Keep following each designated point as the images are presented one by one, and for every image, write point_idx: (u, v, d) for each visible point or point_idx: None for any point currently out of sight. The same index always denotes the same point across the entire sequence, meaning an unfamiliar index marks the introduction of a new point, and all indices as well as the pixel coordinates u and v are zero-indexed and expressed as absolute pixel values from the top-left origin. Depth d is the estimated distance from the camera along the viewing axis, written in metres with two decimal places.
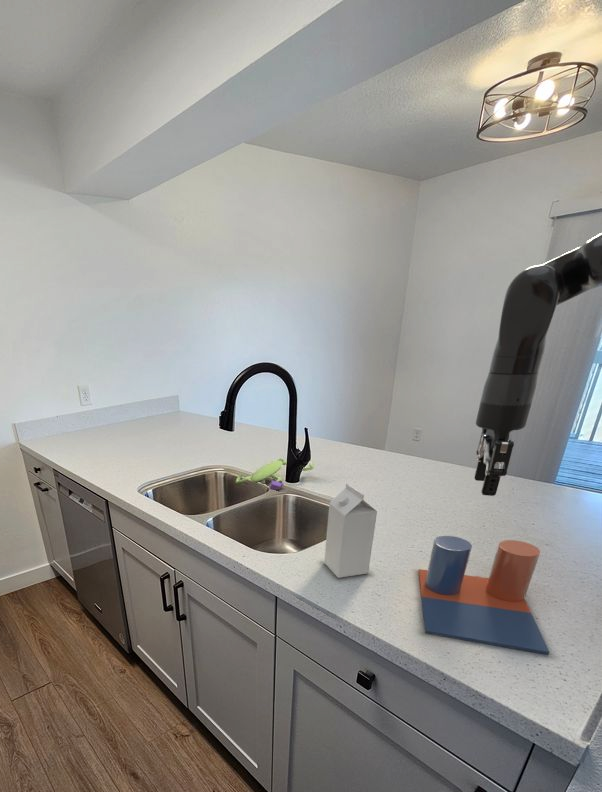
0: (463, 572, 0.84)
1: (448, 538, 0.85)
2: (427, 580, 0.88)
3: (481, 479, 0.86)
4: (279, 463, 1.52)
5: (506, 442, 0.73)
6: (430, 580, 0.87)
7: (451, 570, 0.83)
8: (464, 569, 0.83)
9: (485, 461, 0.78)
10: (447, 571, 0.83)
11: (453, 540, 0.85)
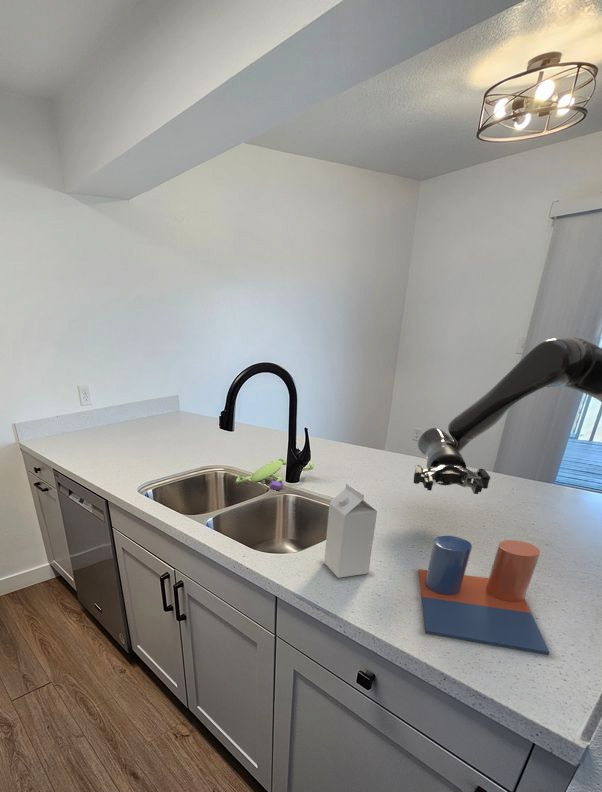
0: (463, 572, 0.84)
1: (448, 538, 0.85)
2: (427, 580, 0.88)
3: (475, 488, 0.88)
4: (279, 463, 1.52)
5: None
6: (430, 580, 0.87)
7: (451, 570, 0.83)
8: (464, 569, 0.83)
9: None
10: (447, 571, 0.83)
11: (453, 540, 0.85)
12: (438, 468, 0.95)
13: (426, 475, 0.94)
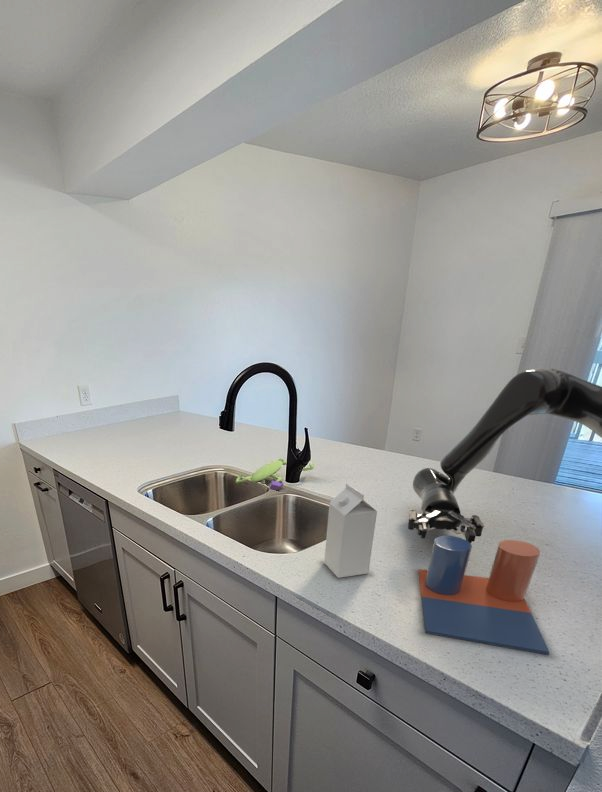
0: (463, 572, 0.84)
1: (448, 538, 0.85)
2: (427, 580, 0.88)
3: (468, 538, 0.89)
4: (279, 463, 1.52)
5: None
6: (430, 580, 0.87)
7: (451, 570, 0.83)
8: (464, 569, 0.83)
9: None
10: (447, 571, 0.83)
11: (453, 540, 0.85)
12: (432, 514, 0.96)
13: (420, 522, 0.95)
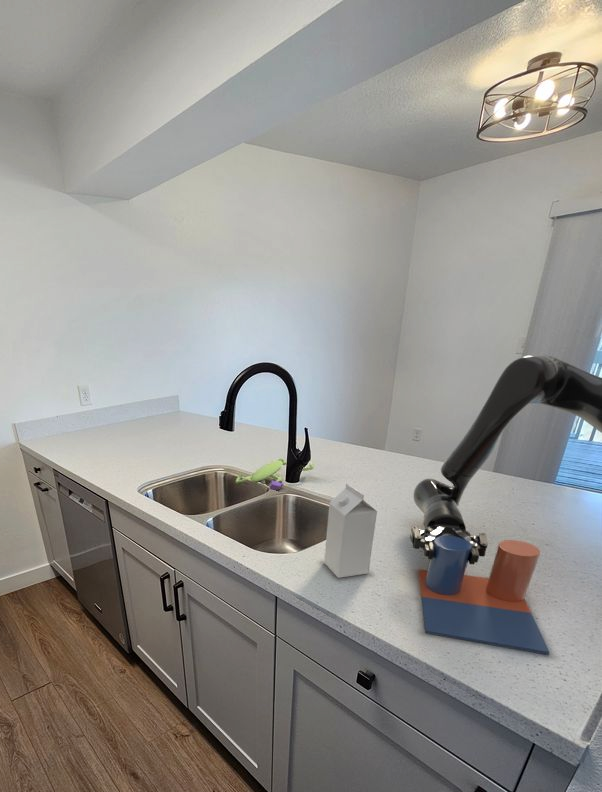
0: (463, 572, 0.84)
1: (448, 538, 0.85)
2: (427, 580, 0.88)
3: (471, 558, 0.82)
4: (279, 463, 1.52)
5: None
6: (430, 580, 0.87)
7: (450, 570, 0.83)
8: (464, 569, 0.83)
9: None
10: (447, 571, 0.83)
11: (453, 540, 0.85)
12: (437, 531, 0.89)
13: (427, 541, 0.87)
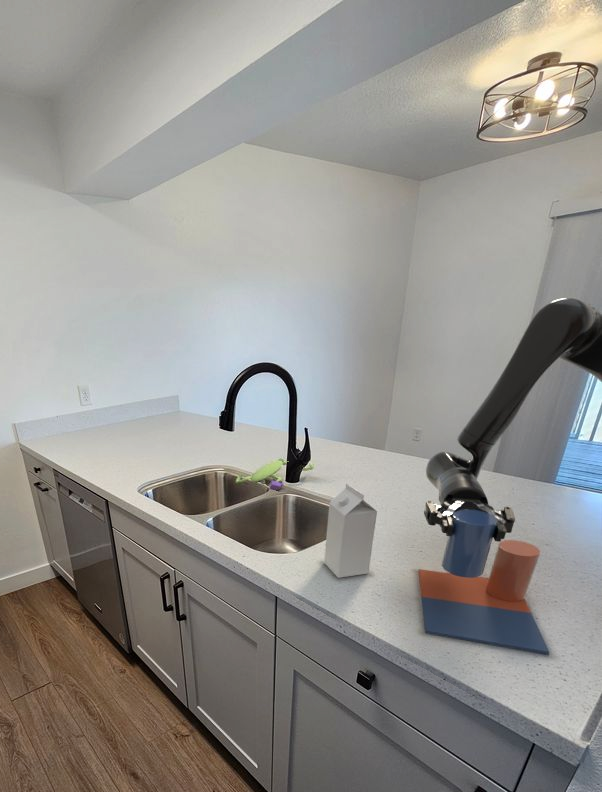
0: (487, 551, 0.73)
1: (469, 512, 0.74)
2: (444, 561, 0.77)
3: (496, 534, 0.71)
4: (279, 463, 1.52)
5: None
6: (448, 561, 0.76)
7: (473, 548, 0.72)
8: (488, 547, 0.72)
9: None
10: (469, 549, 0.72)
11: (475, 514, 0.73)
12: (456, 506, 0.78)
13: (445, 516, 0.76)
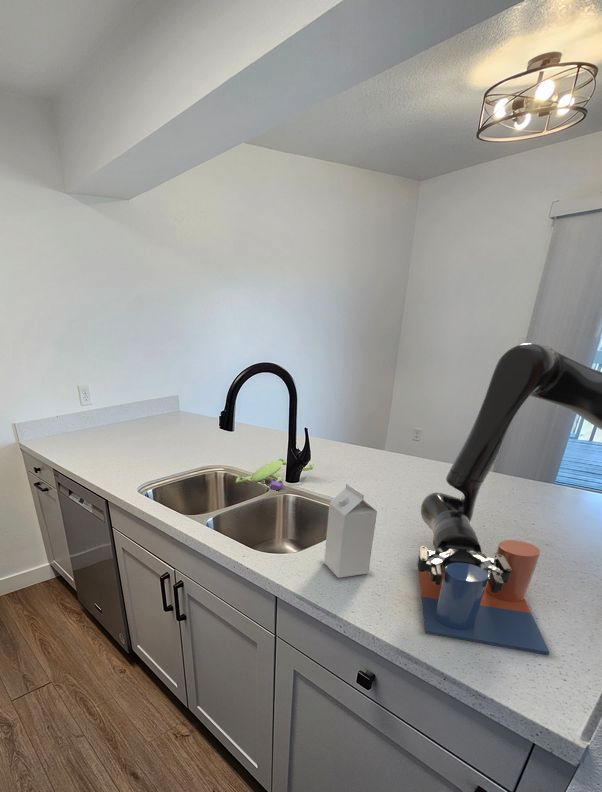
0: (478, 604, 0.74)
1: (461, 566, 0.76)
2: (437, 612, 0.79)
3: (493, 586, 0.72)
4: (279, 463, 1.52)
5: None
6: (440, 612, 0.77)
7: (464, 602, 0.74)
8: (479, 601, 0.74)
9: None
10: (460, 603, 0.74)
11: (467, 568, 0.75)
12: (447, 553, 0.79)
13: (433, 563, 0.78)
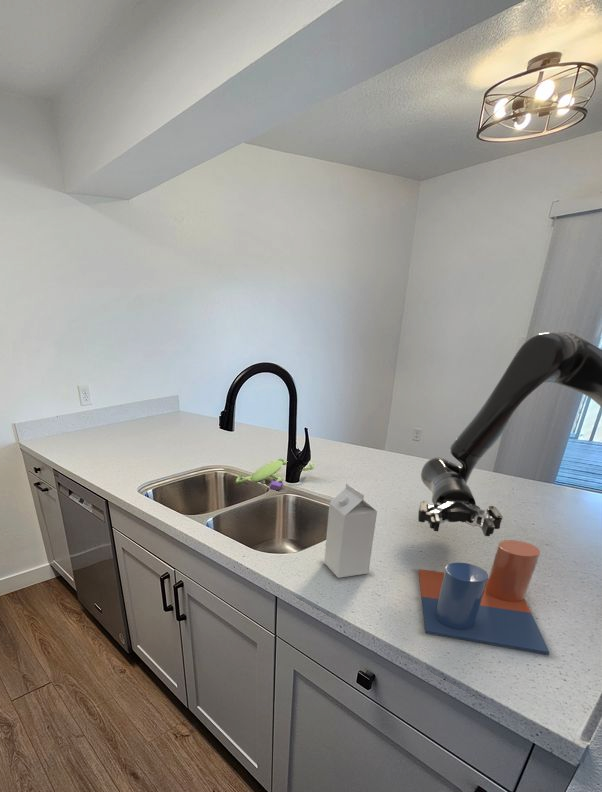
0: (478, 604, 0.74)
1: (461, 566, 0.76)
2: (437, 612, 0.79)
3: (486, 530, 0.81)
4: (279, 463, 1.52)
5: None
6: (440, 612, 0.77)
7: (464, 602, 0.74)
8: (479, 601, 0.74)
9: None
10: (460, 603, 0.74)
11: (467, 568, 0.75)
12: (445, 505, 0.88)
13: (432, 514, 0.86)
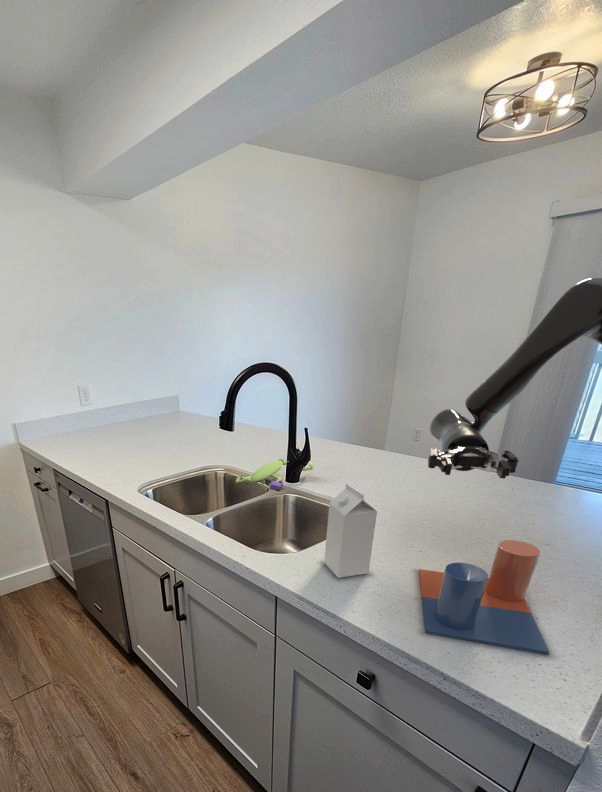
0: (478, 604, 0.74)
1: (461, 566, 0.76)
2: (437, 612, 0.79)
3: (501, 472, 0.76)
4: (279, 463, 1.52)
5: None
6: (440, 612, 0.77)
7: (464, 602, 0.74)
8: (479, 601, 0.74)
9: None
10: (460, 603, 0.74)
11: (467, 568, 0.75)
12: (457, 450, 0.83)
13: (443, 458, 0.81)
